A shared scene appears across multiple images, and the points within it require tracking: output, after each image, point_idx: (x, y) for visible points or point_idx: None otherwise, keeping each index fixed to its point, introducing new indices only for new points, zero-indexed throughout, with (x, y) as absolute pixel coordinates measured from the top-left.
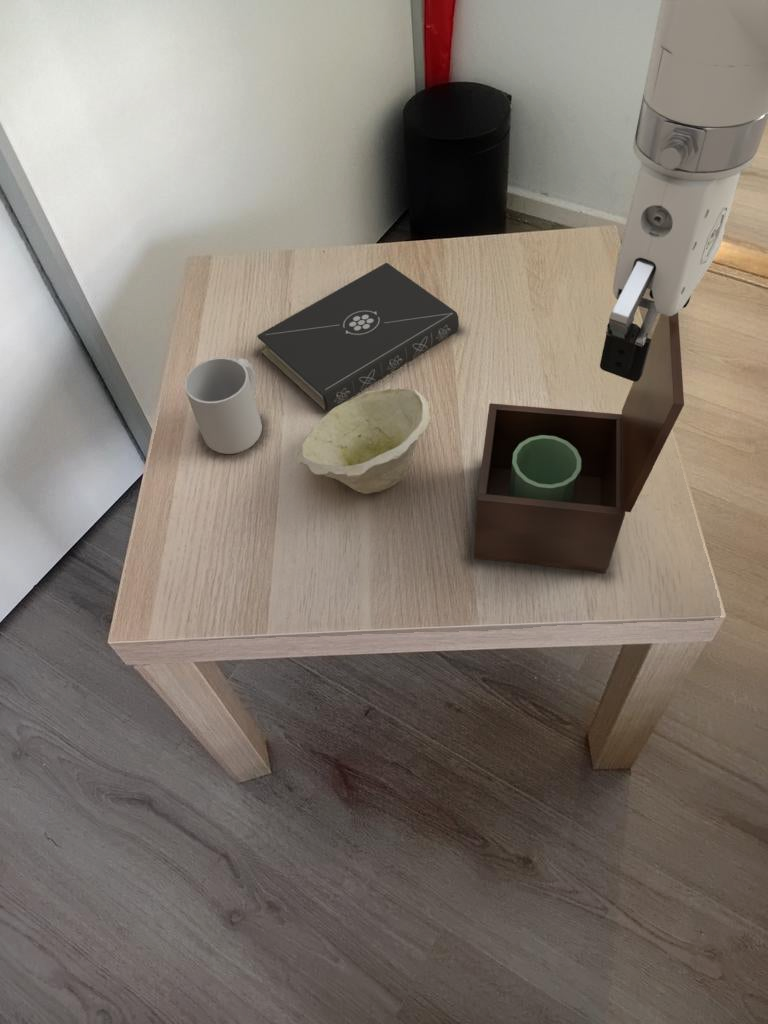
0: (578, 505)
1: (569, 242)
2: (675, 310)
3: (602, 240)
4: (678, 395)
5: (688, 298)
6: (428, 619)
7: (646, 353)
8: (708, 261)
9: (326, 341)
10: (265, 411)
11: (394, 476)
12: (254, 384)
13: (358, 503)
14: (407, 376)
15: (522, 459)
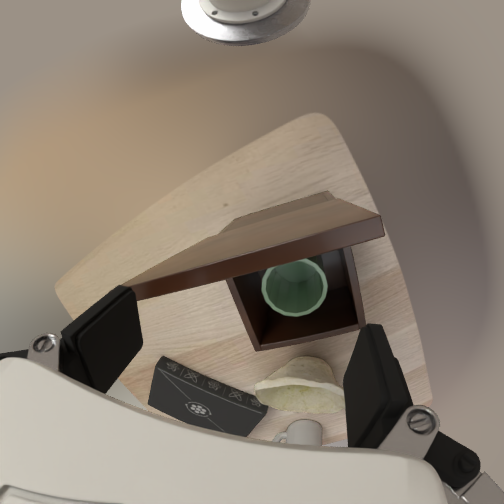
0: (345, 247)
1: (67, 307)
2: (433, 478)
3: (56, 288)
4: (360, 232)
5: (296, 451)
6: (405, 294)
7: (395, 373)
8: (84, 449)
9: (224, 420)
10: (282, 422)
11: (321, 365)
12: (277, 438)
13: (332, 365)
14: (215, 373)
15: (285, 300)
